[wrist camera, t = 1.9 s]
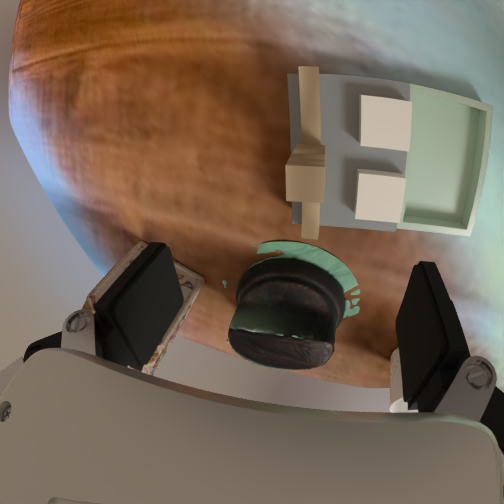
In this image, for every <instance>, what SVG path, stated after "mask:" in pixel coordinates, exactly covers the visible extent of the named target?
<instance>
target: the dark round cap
mask: <svg viewBox="0 0 504 504" xmlns="http://www.w3.org/2000/svg"><path fill="white" fill-rule="evenodd" d="M258 245H259V249H258V251H257V254H261V253H269V252H275V251H276V250H277V249H278V250H280V251H282V252H283V253H284V254H283V255H281V256H277V257H270V258H267V259H264V260H262V261H260V262H257V263H255V264H253V265H252V266H251V267H249V269H248V270H247V271H246V272H245V273H244V274H243V275H242V276H241V278H240V279H239V283H238V289H237V293H236V301H237V306H238V307H237V309H236V311H235V314H234V316H233V318H232V321H231V323H230V327H229V333H228V338H229V342H228V341H227V343H229V344H231V346H232V349H233V348H234V350H235V352H236V353H237V354H239V355H240V356H241V357H242V358H244V359H246V360H248V361H250V362H252V363H253V364H256V365H261V366H265V367H269V368H271V369H282V370H305V369H311V368H317V367H319V366H322V365H324V364H325V363H326V362H327V361H328V360H329V358H330V357H331V356H332V354H333V352H334V343H335V331H336V328H337V327H338V325H339V324H340V322H341V321H342V319H343V318H345V317H346V316H347V315H348V316H349V317H350V316H352V315H354V314H357V313H358V312H359V309H360V307H359V306H356V307H354V308H353V309H350V302H349V301H348V300H346V299H345V297H346V296H344V293H345V292H346V291H348V290H349V289H351V288H353V287H355V286H357V285H358V283H357V281H356V279H355V277H354V276H353V274H352V272H351V271H350V270H349V269H348V267H347V266H346V265H345V264H344V263H343V262H341V261H340V260H339V259H338V258H336V257H334V256H333V255H331V254H330V253H328V252H326V251H324V250H322V249H320V248H318V247H315V246H312V245H309V244H304V243H298V242H268V243H262V244H258ZM255 246H256V245H255ZM255 246H253V247H255ZM222 284H223V285H224V287H225V288H226V286H225V285H227V282H226V281H224V280H223V281H222ZM357 294H360V289H358V290H357V291H354V292H352V293H351V295H357ZM359 300H360V298H357V299H353V300H351V301H352V303H353V304H352V305H357V302H358V301H359ZM227 340H228V339H227Z"/></svg>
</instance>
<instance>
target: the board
mask: <svg viewBox="0 0 504 504" xmlns="http://www.w3.org/2000/svg"><path fill="white" fill-rule="evenodd" d="M287 79H288V96H289V116H290V140H291V154H292V152H293V150H294V148H295V147H296V145H297V144H302V136H301V107H300V86H299V74H287ZM319 79H320V105H321V145H325V185H324V203H320V217H319V225H322V226H335V227H348V228H360V229H371V230H382V231H393V232H396V229H397V223H393V222H383V221H373V220H361V219H355V216H354V207H355V196H356V183H357V169H367V170H377V171H386V172H394V173H402V174H403V175H404V176H405V170H406V160H407V151H400V150H393V149H385V148H376V147H367V146H360V144H359V95H367V96H376V97H384V98H391V99H398V100H404V101H410V83H406V82H400V81H394V80H387V79H380V78H372V77H363V76H352V75H337V74H319ZM292 223H293V224H302V202H294V201H292Z"/></svg>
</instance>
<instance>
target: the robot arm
mask: <svg viewBox="0 0 504 504" xmlns="http://www.w3.org/2000/svg"><path fill="white" fill-rule="evenodd" d="M183 302H184V296H183V293H182V290H181V286H180V283H179V279H178V276H177V272H176V269H175V265H174V262H173V258H172V254H171V250H170V248H169V247H167V245H166V244H165V243H159V242H151V243H150V244H149V245H148V246H147V247H146V248H145V249H144V250H143V251H142V252H141V253H140V254H139V255H138V256H137V257H136V258H135V259H134V261H133V262H132V263H131V264H130V265H129V266H128V267H127V268H126V269H125V270H124V271H123V273H122V274H121V275H120V276H119V277H118V278H117V279H116V280H115V282H114V283H113V284H112V285H111V286H110V287H109V288H108V289H107V291H106V292H105V293H104V294H103V295H102V296H101V298H100V299H99V300H98V301H97V302H96V303H95V305H94V308H95V310H96V312H95V313H94V314H93V313H92V311H90V310H88V309H81V310H78V311H75V312H73V313H72V314H71V315H69V316H68V317H67V319H66V320H65V322H64V324H63V329H62V331H61V332H58V333H56V334H53V335H51V336H48V337H45V338H43V339H40V340H38V341H36V342H34V343H32V344H30V345H29V346H28V348H27V350H26V352H25V355H24V358H23V357H21V358H19V359H18V360H16V361H15V362H13V363H12V364H10V365H9V366H8V367H6V368H5V369H3V370H2V371H1V372H0V504H504V393H503V392H502V391H501V390H499V389H498V388H497V387H496V386H495V385H496V381H497V377H496V372H495V369H494V367H493V365H492V364H491V363H490V362H489V361H488V360H487V359H485V358H483V357H481V356H470V353H469V349H468V346H467V342H466V339H465V336H464V333H463V330H462V327H461V324H460V321H459V318H458V315H457V312H456V310H455V307H454V304H453V302H452V300H450V297H449V295H448V292H447V290H446V287H445V285H444V283H443V280H442V278H441V275H440V273H439V271H438V269H437V266H436V264H435V263H434V262H426V261H420V262H419V263H418V265H414V267H413V270H412V273H411V276H410V280H409V283H408V286H407V289H406V292H405V295H404V298H403V301H402V304H401V307H400V310H399V312H398V315H397V318H396V333H397V340H398V347H399V356H400V365H401V376H402V388H403V400H404V402H407V405H408V410H418V412H398V413H382V412H379V413H378V412H350V411H331V410H320V409H309V408H300V407H292V406H284V405H277V404H270V403H264V402H258V401H252V400H247V399H242V398H237V397H232V396H226V395H222V394H217V393H213V392H209V391H205V390H201V389H197V388H193V387H189V386H185V385H182V384H178V383H175V382H171V381H168V380H164V379H161V378H158V377H155V376H151V375H148V374H145V373H142V372H139V371H141V370H142V368H143V366H144V365H146V364H148V362H149V361H150V359H151V357H152V356H153V354H154V352H155V350H156V349H157V347H158V345H159V344H160V342H161V340H162V339H163V337H164V335H165V333H166V332H167V330H168V328H169V327H170V325H171V323H172V322H173V320H174V318H175V317H176V315H177V313H178V312H179V310H180V308H181V307H182V305H183ZM128 365H129V366H130V367H131V368H133V369H136V370H139V371H136V370H133V369H131V368H128Z"/></svg>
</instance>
